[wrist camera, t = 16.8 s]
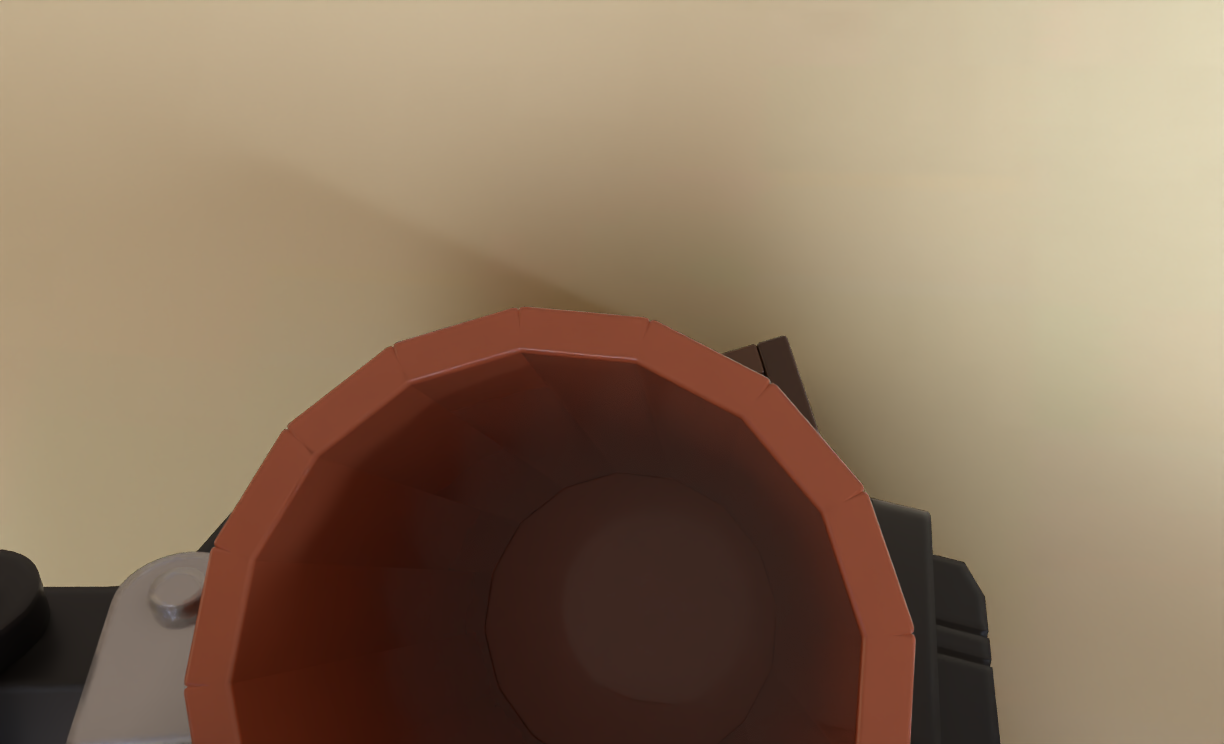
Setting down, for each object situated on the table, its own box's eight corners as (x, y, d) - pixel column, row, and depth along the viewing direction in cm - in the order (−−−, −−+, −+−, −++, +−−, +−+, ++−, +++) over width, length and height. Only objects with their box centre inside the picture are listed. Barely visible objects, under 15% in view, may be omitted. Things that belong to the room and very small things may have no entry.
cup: (739, 418, 17) (778, 226, 8) (840, 739, 16) (1029, 959, 7) (440, 505, 17) (136, 418, 8) (516, 830, 16) (259, 1167, 7)
